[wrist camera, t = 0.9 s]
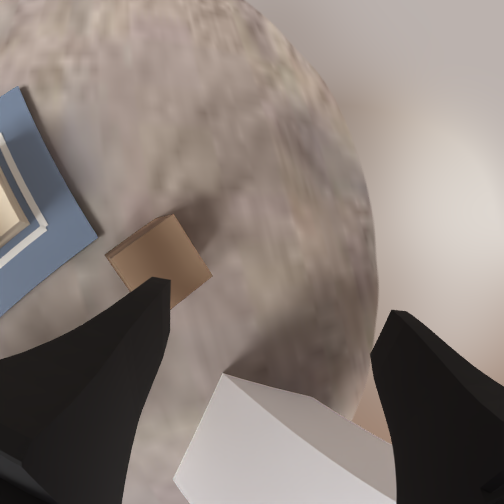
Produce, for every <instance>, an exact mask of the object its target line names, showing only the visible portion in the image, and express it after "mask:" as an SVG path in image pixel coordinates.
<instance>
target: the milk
mask: <svg viewBox="0 0 504 504" xmlns="http://www.w3.org/2000/svg"><path fill="white" fill-rule="evenodd" d="M173 481H174V482H175V484H176V485H177V486H178V488H179V489H180V491H181V492H182V494H183V495H184V496H185V498H186V499H187V501H188V502H189V503H190V504H396V473H395V462H394V454H393V446H392V445H391V444H390V443H388V442H386V441H384V440H382V439H381V438H379V437H377V436H375V435H374V434H372V433H370V432H368V431H367V430H365V429H363V428H362V427H360V426H358V425H357V424H355V423H353V422H352V421H350V420H348V419H347V418H345V417H343V416H342V415H340V414H338V413H337V412H335V411H334V410H332V409H330V408H329V407H327V406H326V405H324V404H322V403H321V402H319V401H318V400H316V399H315V398H313V397H311V396H307V395H303V394H298V393H294V392H290V391H286V390H282V389H278V388H274V387H270V386H266V385H263V384H259V383H255V382H252V381H248V380H245V379H241V378H238V377H234V376H231V375H228V374H224V373H222V375H221V378H220V380H219V382H218V384H217V386H216V388H215V391H214V393H213V395H212V397H211V399H210V401H209V404H208V406H207V408H206V410H205V412H204V414H203V417H202V419H201V421H200V423H199V425H198V427H197V429H196V431H195V434H194V436H193V438H192V440H191V442H190V444H189V446H188V448H187V450H186V453H185V455H184V457H183V459H182V461H181V463H180V465H179V467H178V469H177V471H176V473H175V476H174V478H173Z"/></svg>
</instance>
